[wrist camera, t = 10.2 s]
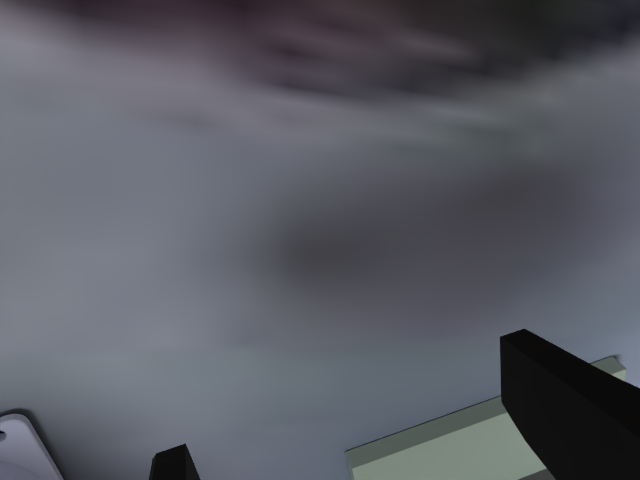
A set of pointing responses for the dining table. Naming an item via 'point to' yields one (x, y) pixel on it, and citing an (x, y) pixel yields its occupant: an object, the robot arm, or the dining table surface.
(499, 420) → the end holder
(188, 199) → the dining table surface
